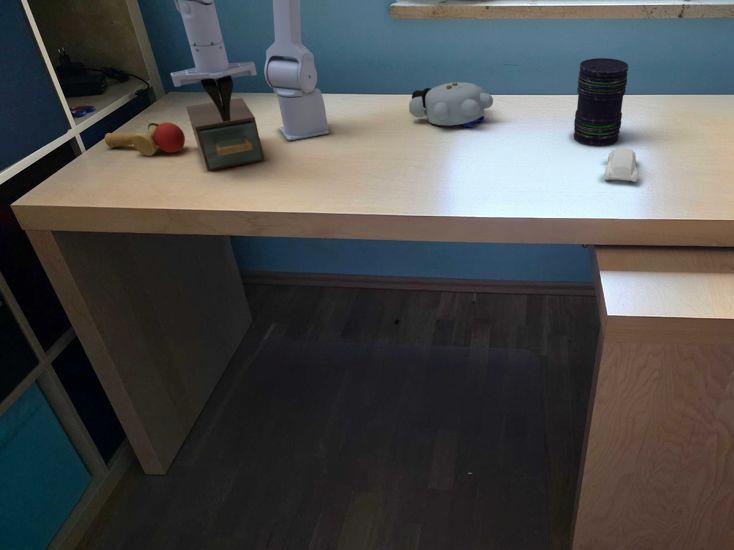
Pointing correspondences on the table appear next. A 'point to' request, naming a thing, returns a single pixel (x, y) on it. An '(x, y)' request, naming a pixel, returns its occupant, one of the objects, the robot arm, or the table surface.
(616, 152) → the white toy car
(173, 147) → the kendama
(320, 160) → the table surface
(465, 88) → the figurine
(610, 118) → the storage jar
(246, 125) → the drawer
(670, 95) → the table surface
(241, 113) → the cabinet
